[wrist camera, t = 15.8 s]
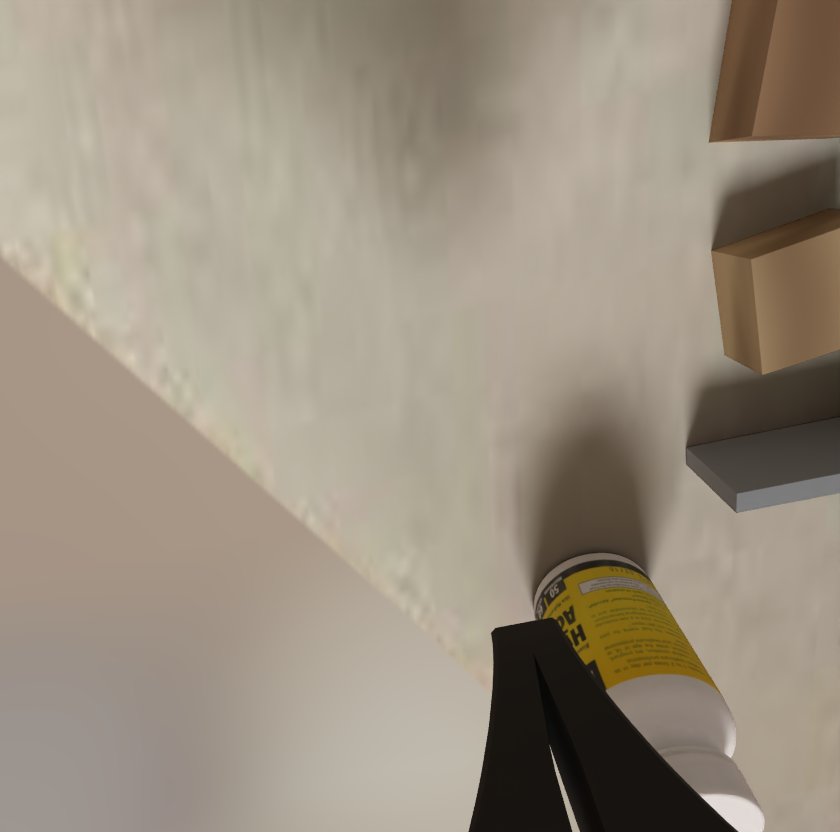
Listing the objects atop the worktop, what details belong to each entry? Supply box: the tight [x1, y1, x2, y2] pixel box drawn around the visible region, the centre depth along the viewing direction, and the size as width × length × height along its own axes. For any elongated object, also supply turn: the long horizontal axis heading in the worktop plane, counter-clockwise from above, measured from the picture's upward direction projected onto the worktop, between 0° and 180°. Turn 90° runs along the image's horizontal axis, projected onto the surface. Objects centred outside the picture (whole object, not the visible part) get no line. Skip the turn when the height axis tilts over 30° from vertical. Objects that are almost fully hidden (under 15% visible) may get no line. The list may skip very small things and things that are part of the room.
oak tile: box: [711, 209, 840, 375], centre depth 18 cm, size 4×4×2 cm
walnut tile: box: [709, 0, 840, 142], centre depth 15 cm, size 4×4×2 cm
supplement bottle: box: [534, 553, 765, 832], centre depth 20 cm, size 5×5×10 cm
